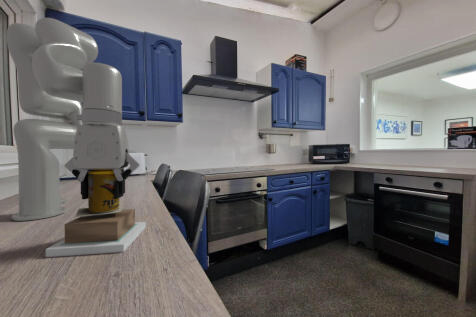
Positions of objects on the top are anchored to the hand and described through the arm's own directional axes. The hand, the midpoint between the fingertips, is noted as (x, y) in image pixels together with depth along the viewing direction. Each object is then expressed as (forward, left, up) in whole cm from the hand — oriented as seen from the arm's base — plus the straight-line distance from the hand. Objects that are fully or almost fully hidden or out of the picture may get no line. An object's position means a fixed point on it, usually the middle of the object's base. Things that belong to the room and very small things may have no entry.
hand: (103, 197), depth 46 cm
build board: (0, 0, -10) cm, 10 cm away
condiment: (0, -1, -3) cm, 4 cm away
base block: (0, 0, -8) cm, 8 cm away
